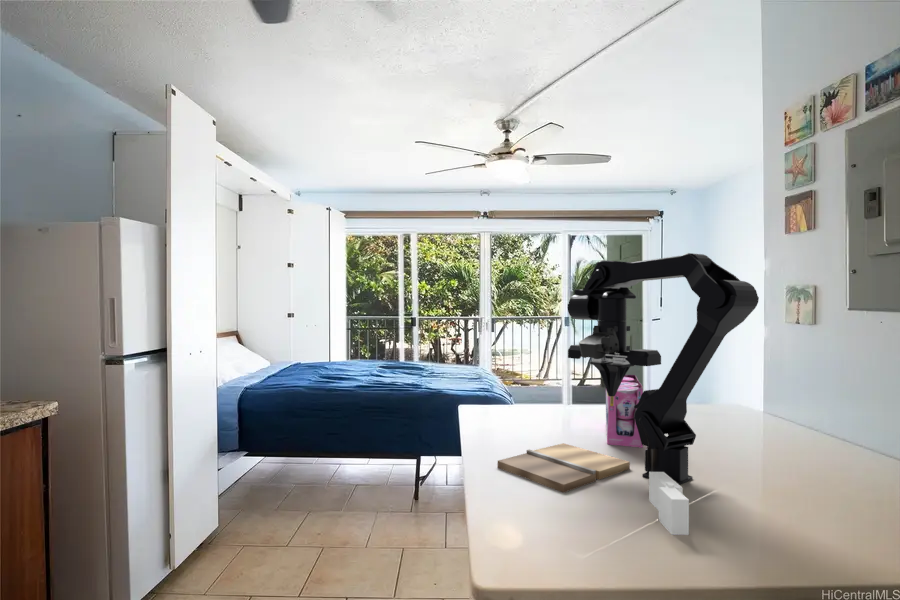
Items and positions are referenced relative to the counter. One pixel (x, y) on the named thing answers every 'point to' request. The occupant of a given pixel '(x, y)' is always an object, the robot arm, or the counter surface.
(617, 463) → the oak plank
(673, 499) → the napkin holder
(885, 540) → the counter surface
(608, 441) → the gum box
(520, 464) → the walnut board
